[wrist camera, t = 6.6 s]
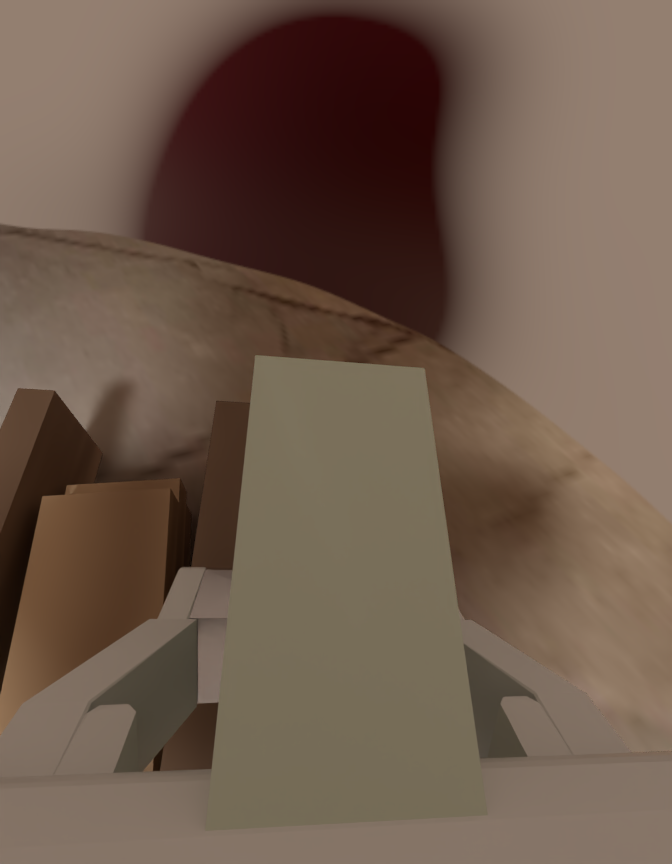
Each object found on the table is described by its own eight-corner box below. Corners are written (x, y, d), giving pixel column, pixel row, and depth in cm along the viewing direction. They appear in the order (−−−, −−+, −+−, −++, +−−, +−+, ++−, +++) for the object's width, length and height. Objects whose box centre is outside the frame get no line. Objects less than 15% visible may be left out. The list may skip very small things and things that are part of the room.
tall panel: (253, 744, 15) (182, 1049, 3) (265, 569, 18) (255, 355, 6) (321, 742, 15) (514, 1010, 3) (322, 569, 18) (424, 368, 6)
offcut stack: (45, 853, 13) (-50, 929, 9) (95, 511, 18) (48, 468, 14) (181, 826, 14) (145, 887, 10) (192, 504, 19) (172, 461, 15)
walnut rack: (-99, 985, 11) (-324, 1175, 7) (74, 451, 19) (18, 388, 15) (375, 942, 13) (428, 1076, 9) (357, 465, 21) (380, 411, 17)
